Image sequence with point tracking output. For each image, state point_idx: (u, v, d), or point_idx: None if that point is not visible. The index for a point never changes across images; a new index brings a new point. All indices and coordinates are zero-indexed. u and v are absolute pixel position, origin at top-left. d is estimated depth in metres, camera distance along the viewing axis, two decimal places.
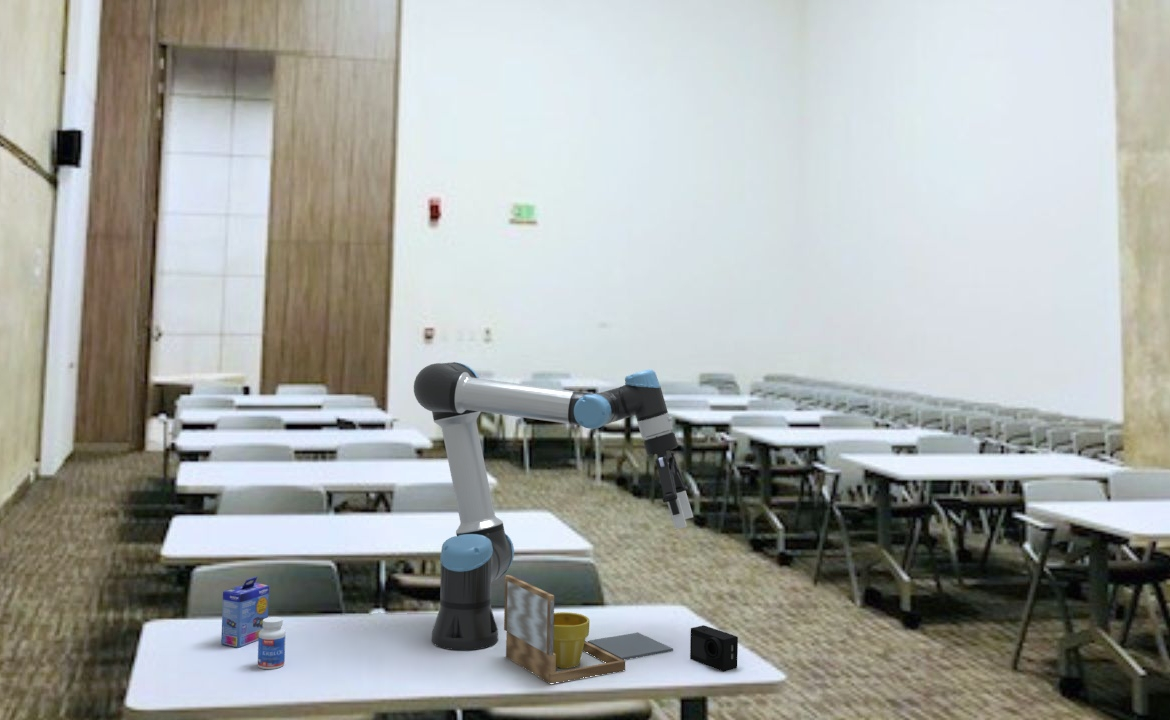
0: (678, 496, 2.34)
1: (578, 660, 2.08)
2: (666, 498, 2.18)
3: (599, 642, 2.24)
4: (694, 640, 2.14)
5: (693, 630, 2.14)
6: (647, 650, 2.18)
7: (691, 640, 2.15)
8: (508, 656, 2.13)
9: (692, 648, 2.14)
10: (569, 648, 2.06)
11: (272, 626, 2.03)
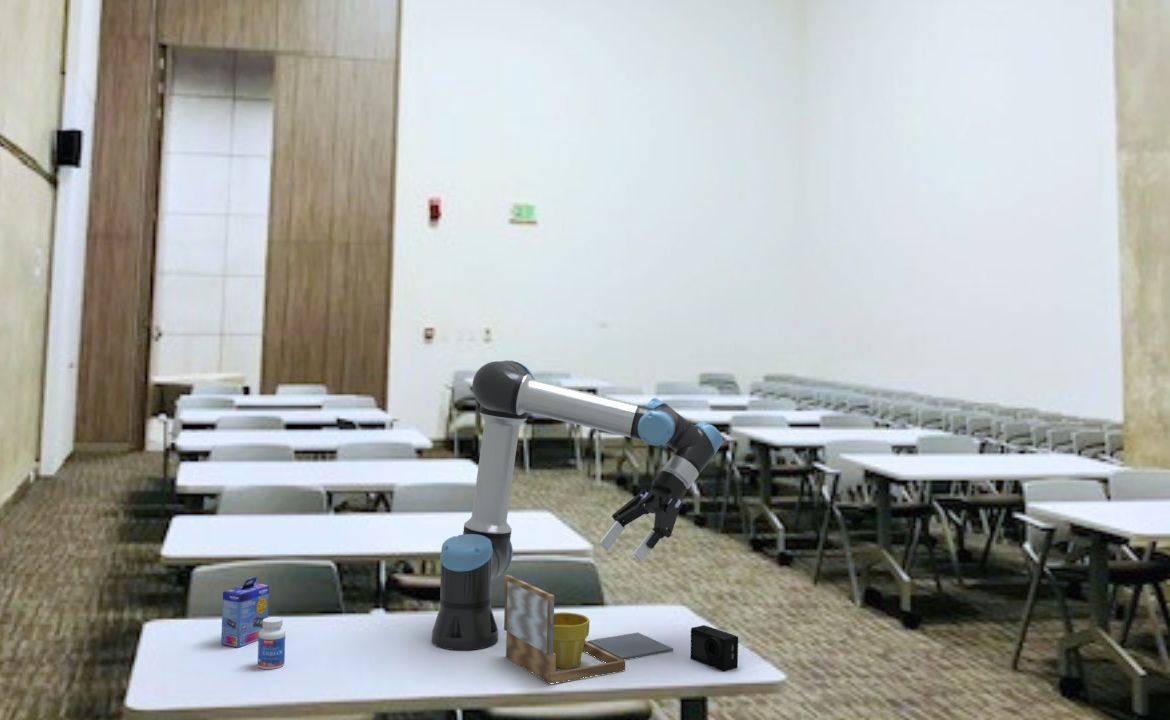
0: (617, 526, 2.24)
1: (578, 660, 2.08)
2: (664, 531, 2.10)
3: (599, 642, 2.24)
4: (694, 640, 2.14)
5: (693, 630, 2.14)
6: (647, 650, 2.18)
7: (691, 640, 2.15)
8: (508, 656, 2.13)
9: (692, 648, 2.14)
10: (569, 648, 2.06)
11: (272, 626, 2.03)
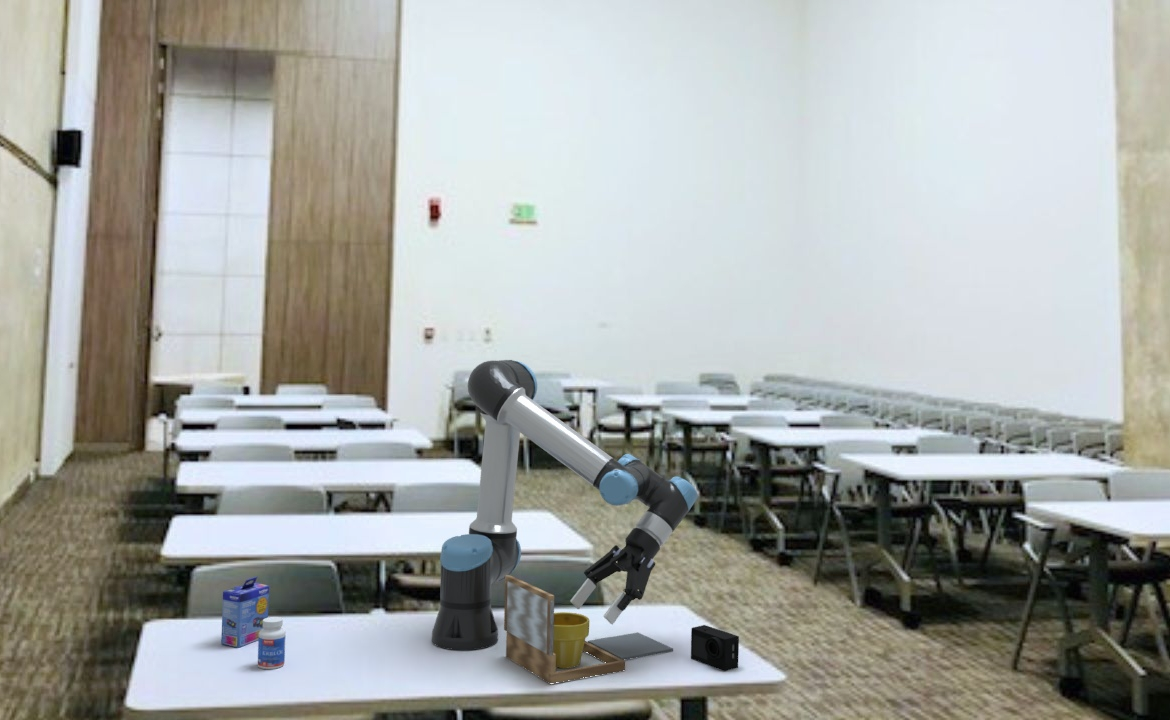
0: (589, 584, 2.19)
1: (578, 660, 2.08)
2: (635, 593, 2.06)
3: (599, 642, 2.24)
4: (694, 640, 2.14)
5: (694, 630, 2.14)
6: (647, 650, 2.18)
7: (692, 640, 2.15)
8: (508, 656, 2.13)
9: (693, 648, 2.15)
10: (569, 648, 2.06)
11: (272, 626, 2.03)
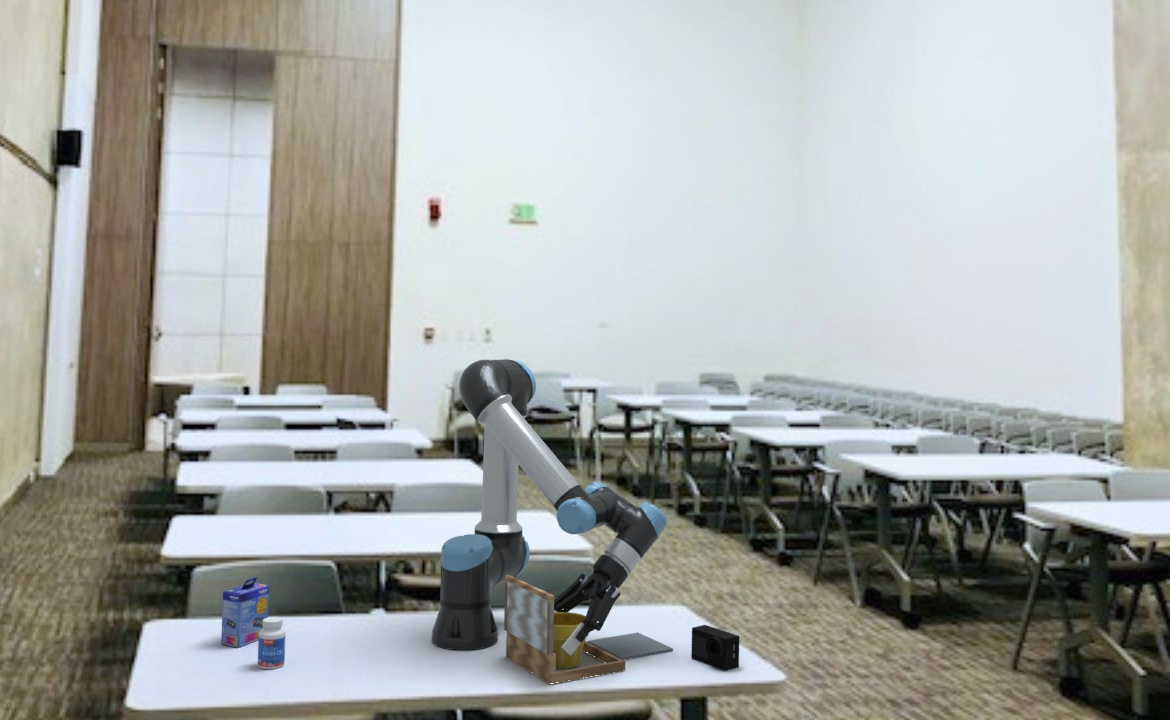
0: None
1: (578, 660, 2.08)
2: (594, 624, 2.04)
3: (599, 642, 2.24)
4: (695, 640, 2.14)
5: (694, 630, 2.15)
6: (647, 650, 2.18)
7: (692, 640, 2.15)
8: (508, 656, 2.13)
9: (693, 647, 2.15)
10: None
11: (272, 626, 2.03)
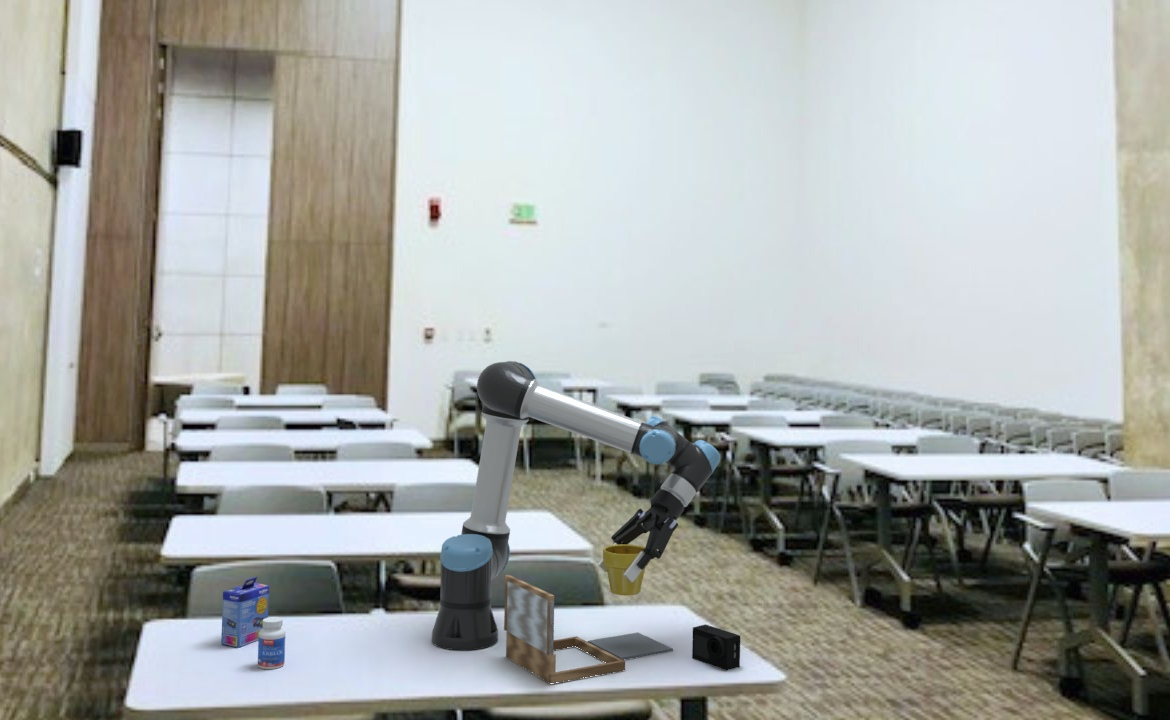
0: None
1: (639, 588, 2.19)
2: (654, 552, 2.14)
3: (599, 642, 2.24)
4: (696, 640, 2.15)
5: (695, 629, 2.15)
6: (647, 650, 2.18)
7: (693, 639, 2.15)
8: (508, 656, 2.13)
9: (694, 647, 2.15)
10: None
11: (272, 626, 2.03)
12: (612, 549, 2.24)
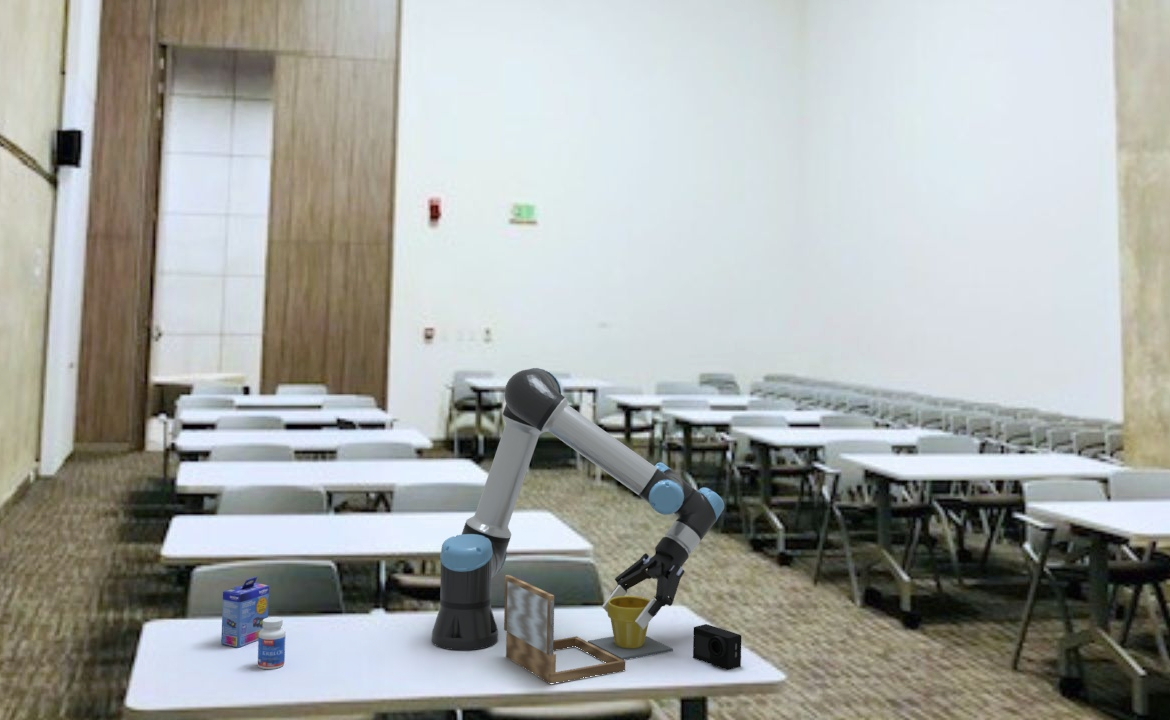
0: (620, 590, 2.29)
1: (643, 640, 2.21)
2: (666, 599, 2.15)
3: (599, 642, 2.24)
4: (697, 639, 2.15)
5: (696, 629, 2.15)
6: (647, 650, 2.18)
7: (694, 639, 2.15)
8: (508, 656, 2.13)
9: (695, 647, 2.15)
10: (635, 629, 2.19)
11: (272, 626, 2.03)
12: (616, 601, 2.26)
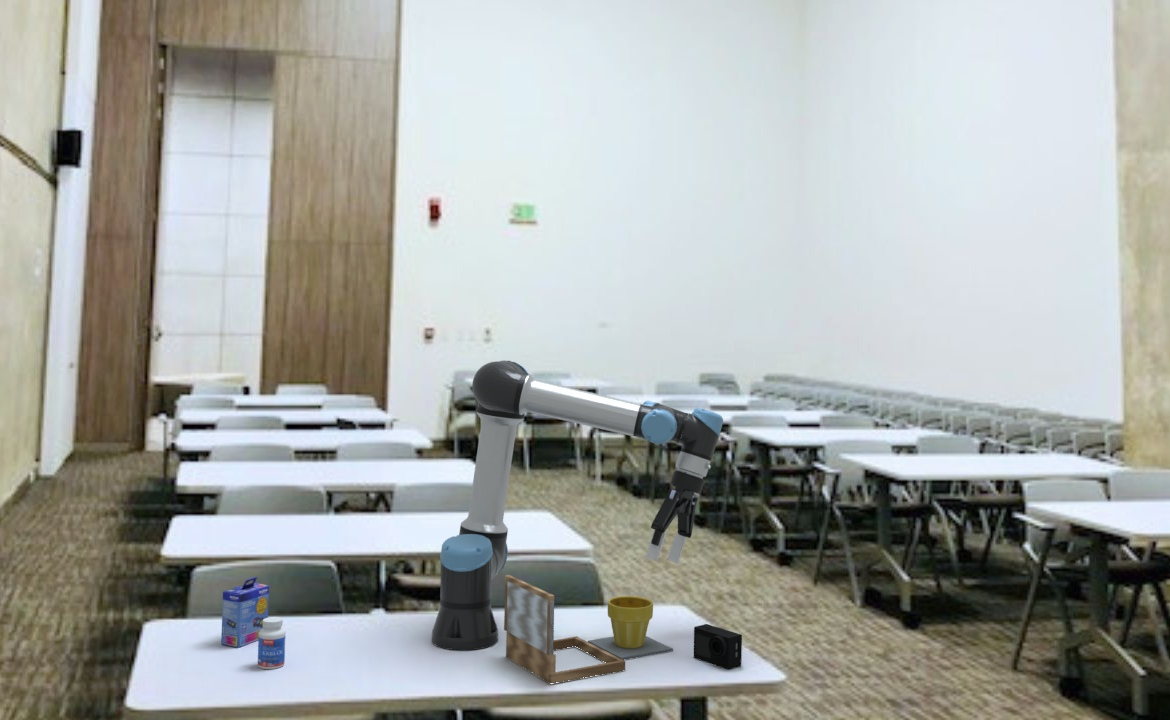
0: (677, 537, 2.35)
1: (643, 640, 2.21)
2: (653, 525, 2.21)
3: (599, 642, 2.24)
4: (697, 639, 2.15)
5: (697, 629, 2.15)
6: (647, 650, 2.18)
7: (694, 639, 2.16)
8: (508, 656, 2.13)
9: (696, 647, 2.15)
10: (635, 629, 2.19)
11: (272, 626, 2.03)
12: (616, 601, 2.26)
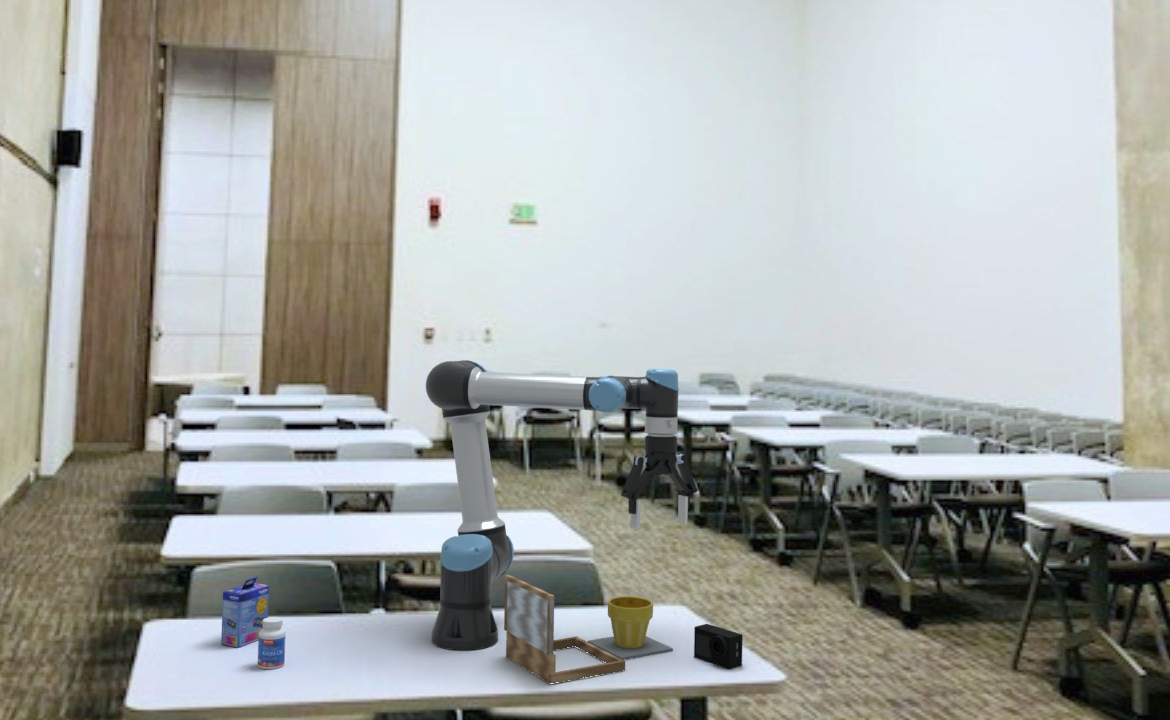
0: (680, 499, 2.32)
1: (643, 641, 2.21)
2: (622, 495, 2.24)
3: (599, 642, 2.24)
4: (698, 639, 2.15)
5: (697, 629, 2.15)
6: (647, 650, 2.18)
7: (695, 639, 2.16)
8: (508, 656, 2.13)
9: (696, 646, 2.15)
10: (635, 629, 2.19)
11: (272, 626, 2.03)
12: (617, 601, 2.26)
